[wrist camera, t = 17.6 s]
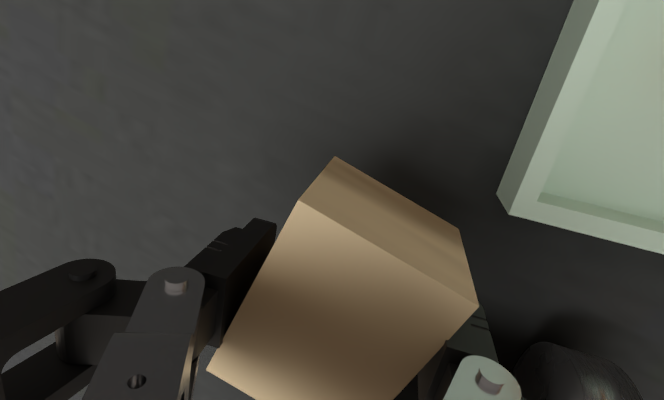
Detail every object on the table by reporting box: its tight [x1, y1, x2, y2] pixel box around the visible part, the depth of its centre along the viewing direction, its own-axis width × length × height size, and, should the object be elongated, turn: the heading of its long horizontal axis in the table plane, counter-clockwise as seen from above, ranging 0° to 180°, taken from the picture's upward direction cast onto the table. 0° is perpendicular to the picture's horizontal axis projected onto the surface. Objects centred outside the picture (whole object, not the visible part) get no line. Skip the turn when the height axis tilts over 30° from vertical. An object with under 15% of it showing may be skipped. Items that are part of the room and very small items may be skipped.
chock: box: [206, 156, 479, 400], centre depth 11 cm, size 6×4×4 cm
